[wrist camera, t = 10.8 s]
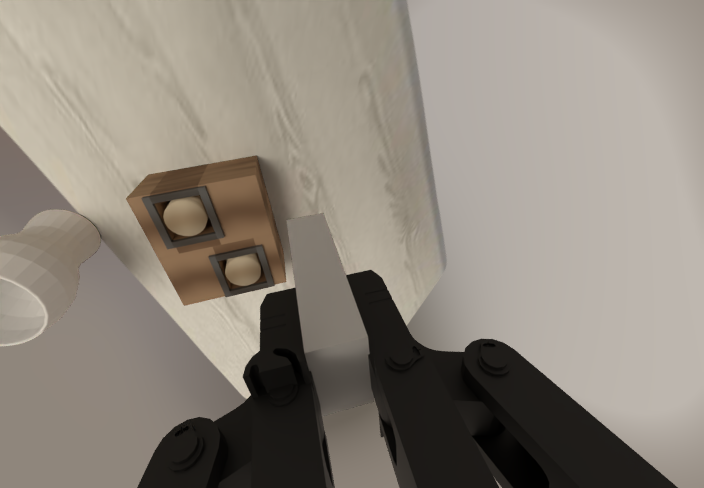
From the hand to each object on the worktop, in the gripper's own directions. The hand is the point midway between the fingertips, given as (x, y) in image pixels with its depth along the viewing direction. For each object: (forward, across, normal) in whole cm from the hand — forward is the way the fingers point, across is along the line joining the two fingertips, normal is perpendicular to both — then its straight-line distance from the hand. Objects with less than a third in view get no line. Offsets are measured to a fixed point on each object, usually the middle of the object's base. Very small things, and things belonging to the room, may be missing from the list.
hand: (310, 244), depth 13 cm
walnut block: (+33, -11, -14) cm, 37 cm away
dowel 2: (+33, -9, -18) cm, 39 cm away
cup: (+34, -31, -12) cm, 47 cm away
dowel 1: (+33, -13, -9) cm, 37 cm away
